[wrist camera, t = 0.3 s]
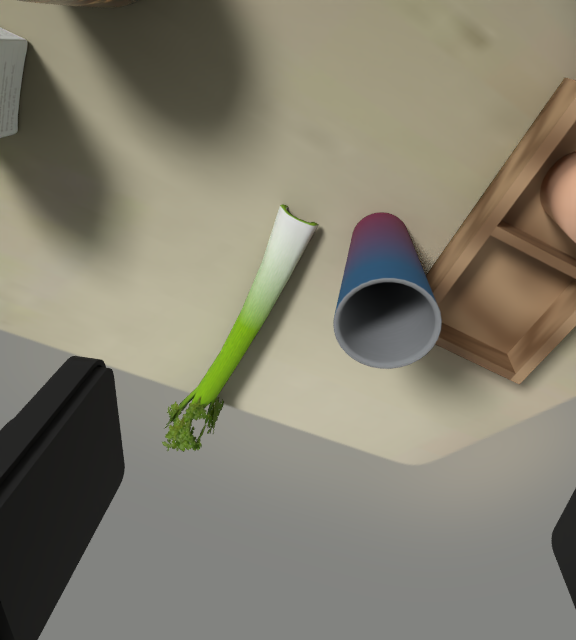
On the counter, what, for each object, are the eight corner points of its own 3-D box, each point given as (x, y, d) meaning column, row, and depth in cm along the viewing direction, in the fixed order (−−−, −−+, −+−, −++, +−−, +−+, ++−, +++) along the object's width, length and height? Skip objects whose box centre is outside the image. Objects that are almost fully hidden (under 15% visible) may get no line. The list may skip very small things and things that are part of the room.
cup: (431, 252, 44) (459, 344, 31) (364, 285, 47) (364, 382, 34) (397, 187, 42) (412, 259, 29) (328, 226, 44) (313, 307, 32)
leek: (336, 224, 46) (215, 439, 59) (271, 188, 46) (165, 411, 59) (326, 240, 41) (195, 473, 54) (253, 198, 41) (140, 441, 54)
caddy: (564, 77, 36) (585, 83, 33) (696, 152, 37) (730, 165, 34) (402, 308, 47) (406, 330, 44) (508, 359, 49) (519, 384, 45)
